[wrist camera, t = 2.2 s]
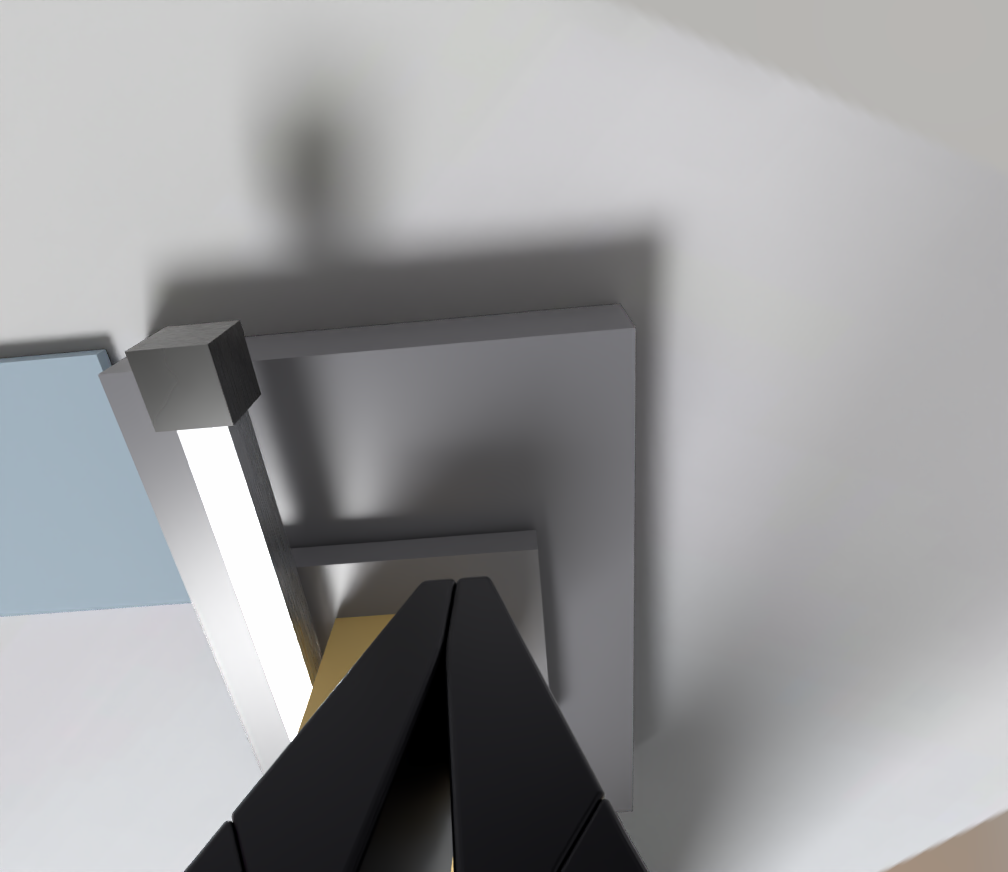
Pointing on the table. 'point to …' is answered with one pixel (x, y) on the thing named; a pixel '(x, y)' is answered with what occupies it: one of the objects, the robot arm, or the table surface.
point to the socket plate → (436, 484)
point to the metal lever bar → (234, 490)
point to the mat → (73, 496)
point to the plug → (409, 591)
